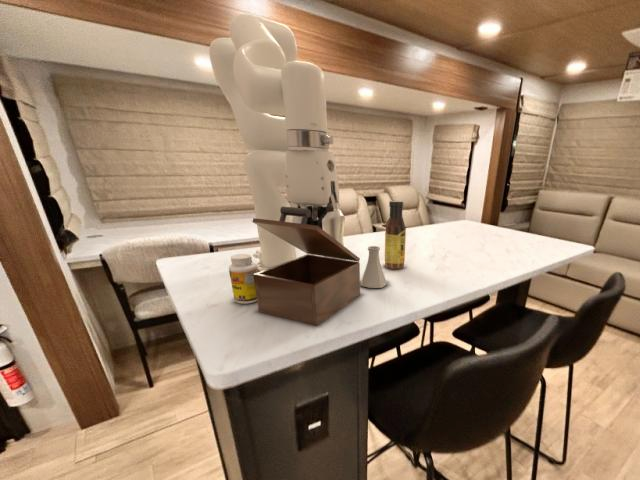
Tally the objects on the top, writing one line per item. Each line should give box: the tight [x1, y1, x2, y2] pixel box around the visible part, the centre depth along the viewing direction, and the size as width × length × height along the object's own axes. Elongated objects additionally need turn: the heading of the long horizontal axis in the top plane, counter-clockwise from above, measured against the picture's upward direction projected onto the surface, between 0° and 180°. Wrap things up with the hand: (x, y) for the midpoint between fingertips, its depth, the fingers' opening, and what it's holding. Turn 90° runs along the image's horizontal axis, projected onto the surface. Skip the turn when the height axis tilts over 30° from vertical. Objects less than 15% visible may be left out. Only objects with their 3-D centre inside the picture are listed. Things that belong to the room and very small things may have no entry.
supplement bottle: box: [228, 253, 259, 305], centre depth 68 cm, size 6×6×10 cm
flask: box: [360, 245, 388, 289], centre depth 80 cm, size 7×7×10 cm
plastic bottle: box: [322, 201, 346, 260], centre depth 91 cm, size 6×7×20 cm
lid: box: [251, 206, 361, 262], centre depth 66 cm, size 18×15×5 cm
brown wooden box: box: [253, 253, 361, 326], centre depth 68 cm, size 18×15×8 cm
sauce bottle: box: [384, 200, 407, 270], centre depth 93 cm, size 6×6×20 cm
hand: (315, 238), depth 66 cm, fingers closed
